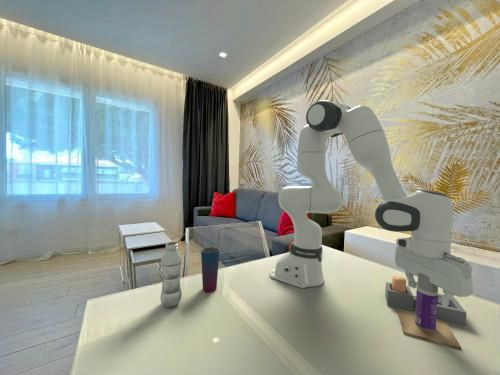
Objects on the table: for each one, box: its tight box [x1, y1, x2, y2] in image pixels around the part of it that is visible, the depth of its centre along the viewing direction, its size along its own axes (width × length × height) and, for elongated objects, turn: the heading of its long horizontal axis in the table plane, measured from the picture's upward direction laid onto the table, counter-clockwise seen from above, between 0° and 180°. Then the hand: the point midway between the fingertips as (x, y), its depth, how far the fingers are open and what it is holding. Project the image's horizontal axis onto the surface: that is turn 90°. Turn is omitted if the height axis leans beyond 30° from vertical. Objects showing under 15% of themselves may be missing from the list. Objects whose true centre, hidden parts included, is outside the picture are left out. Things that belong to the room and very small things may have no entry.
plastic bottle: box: [160, 241, 183, 308], centre depth 72 cm, size 6×7×20 cm
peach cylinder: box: [391, 275, 407, 293], centre depth 76 cm, size 4×4×8 cm
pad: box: [396, 308, 462, 351], centre depth 63 cm, size 12×12×1 cm
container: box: [414, 273, 439, 332], centre depth 63 cm, size 5×5×15 cm
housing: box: [384, 281, 467, 327], centre depth 74 cm, size 20×10×5 cm, turn 64°
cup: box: [200, 246, 221, 294], centre depth 82 cm, size 7×7×15 cm
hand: (426, 295), depth 63 cm, fingers open, 8 cm apart
